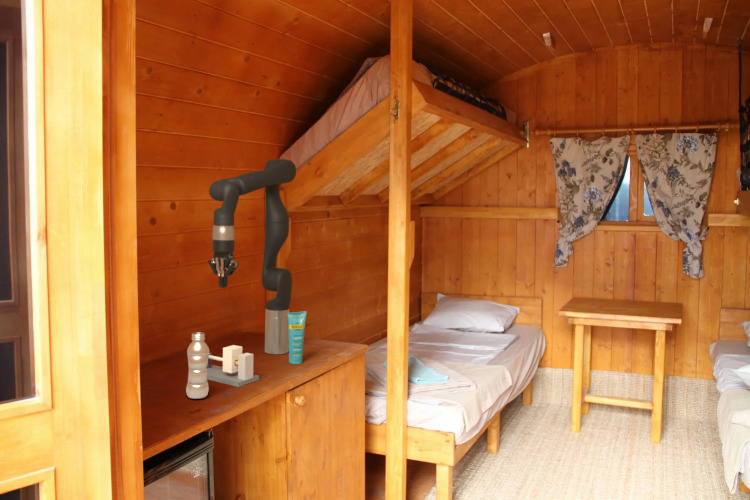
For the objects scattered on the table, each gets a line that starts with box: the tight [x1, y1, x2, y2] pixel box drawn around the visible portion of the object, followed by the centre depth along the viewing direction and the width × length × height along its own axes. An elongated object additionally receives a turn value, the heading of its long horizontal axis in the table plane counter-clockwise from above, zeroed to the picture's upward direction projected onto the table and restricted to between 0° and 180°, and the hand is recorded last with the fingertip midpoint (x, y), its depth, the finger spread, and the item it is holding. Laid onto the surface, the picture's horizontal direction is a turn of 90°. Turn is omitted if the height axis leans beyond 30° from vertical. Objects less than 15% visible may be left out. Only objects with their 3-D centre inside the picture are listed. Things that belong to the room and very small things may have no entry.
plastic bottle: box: [185, 331, 210, 400], centre depth 203 cm, size 6×7×20 cm
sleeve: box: [222, 344, 243, 373], centre depth 223 cm, size 5×4×8 cm
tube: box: [288, 310, 308, 365], centre depth 247 cm, size 7×5×19 cm, turn 123°
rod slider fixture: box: [207, 352, 260, 388], centre depth 225 cm, size 10×22×10 cm, turn 59°
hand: (223, 287), depth 234 cm, fingers closed
